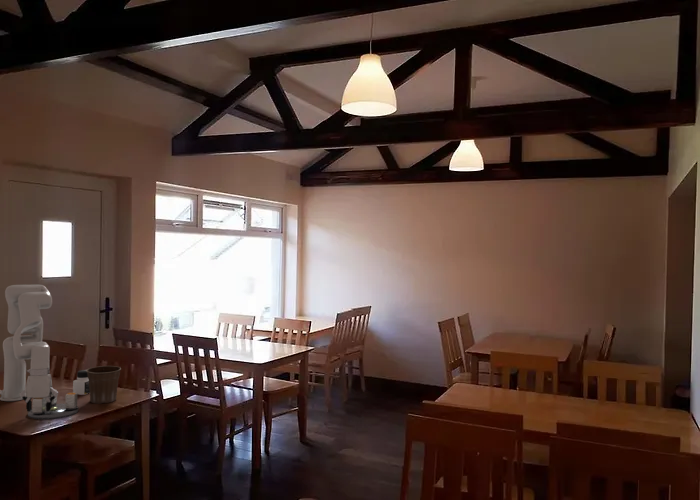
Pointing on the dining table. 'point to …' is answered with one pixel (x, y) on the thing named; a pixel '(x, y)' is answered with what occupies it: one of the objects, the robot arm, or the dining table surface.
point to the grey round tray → (54, 413)
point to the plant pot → (103, 383)
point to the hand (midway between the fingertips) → (38, 410)
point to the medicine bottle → (81, 383)
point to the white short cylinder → (71, 401)
